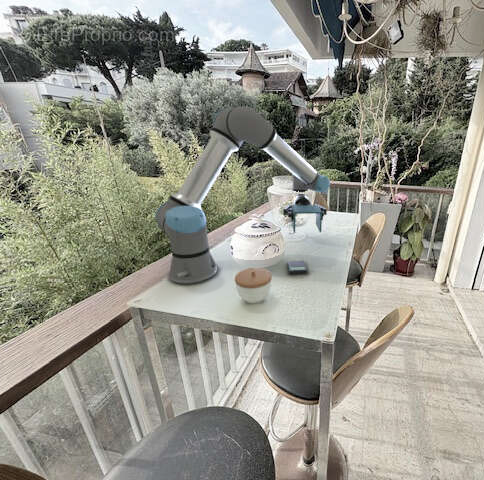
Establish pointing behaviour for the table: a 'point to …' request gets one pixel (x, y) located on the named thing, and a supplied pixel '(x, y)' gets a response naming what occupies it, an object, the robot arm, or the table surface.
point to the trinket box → (253, 284)
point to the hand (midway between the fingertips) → (307, 217)
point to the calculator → (297, 267)
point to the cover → (307, 210)
